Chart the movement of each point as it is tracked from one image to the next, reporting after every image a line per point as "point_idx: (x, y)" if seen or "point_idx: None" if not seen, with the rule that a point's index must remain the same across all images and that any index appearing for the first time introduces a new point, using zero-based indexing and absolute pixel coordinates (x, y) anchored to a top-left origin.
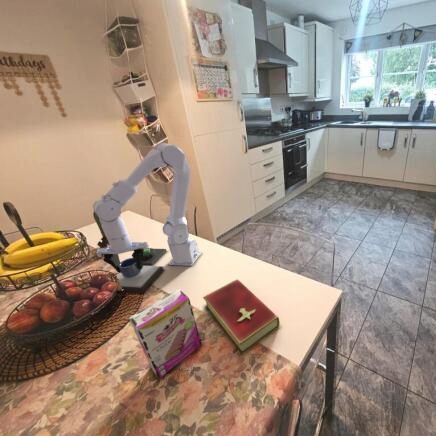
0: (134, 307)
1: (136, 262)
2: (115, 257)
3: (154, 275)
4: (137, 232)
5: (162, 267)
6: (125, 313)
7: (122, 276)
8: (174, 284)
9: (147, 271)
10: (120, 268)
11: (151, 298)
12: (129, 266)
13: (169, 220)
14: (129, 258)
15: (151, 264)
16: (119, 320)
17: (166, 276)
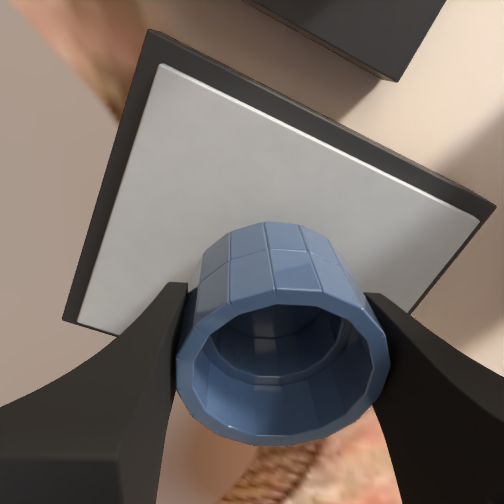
0: (298, 446)
1: (386, 436)
2: (148, 475)
3: (418, 303)
4: None
5: (489, 211)
6: (264, 463)
7: (176, 262)
8: (499, 361)
9: (378, 264)
10: (216, 425)
11: (372, 419)
12: (308, 439)
13: None
14: (278, 297)
15: (392, 80)
16: (249, 485)
17: (473, 274)
